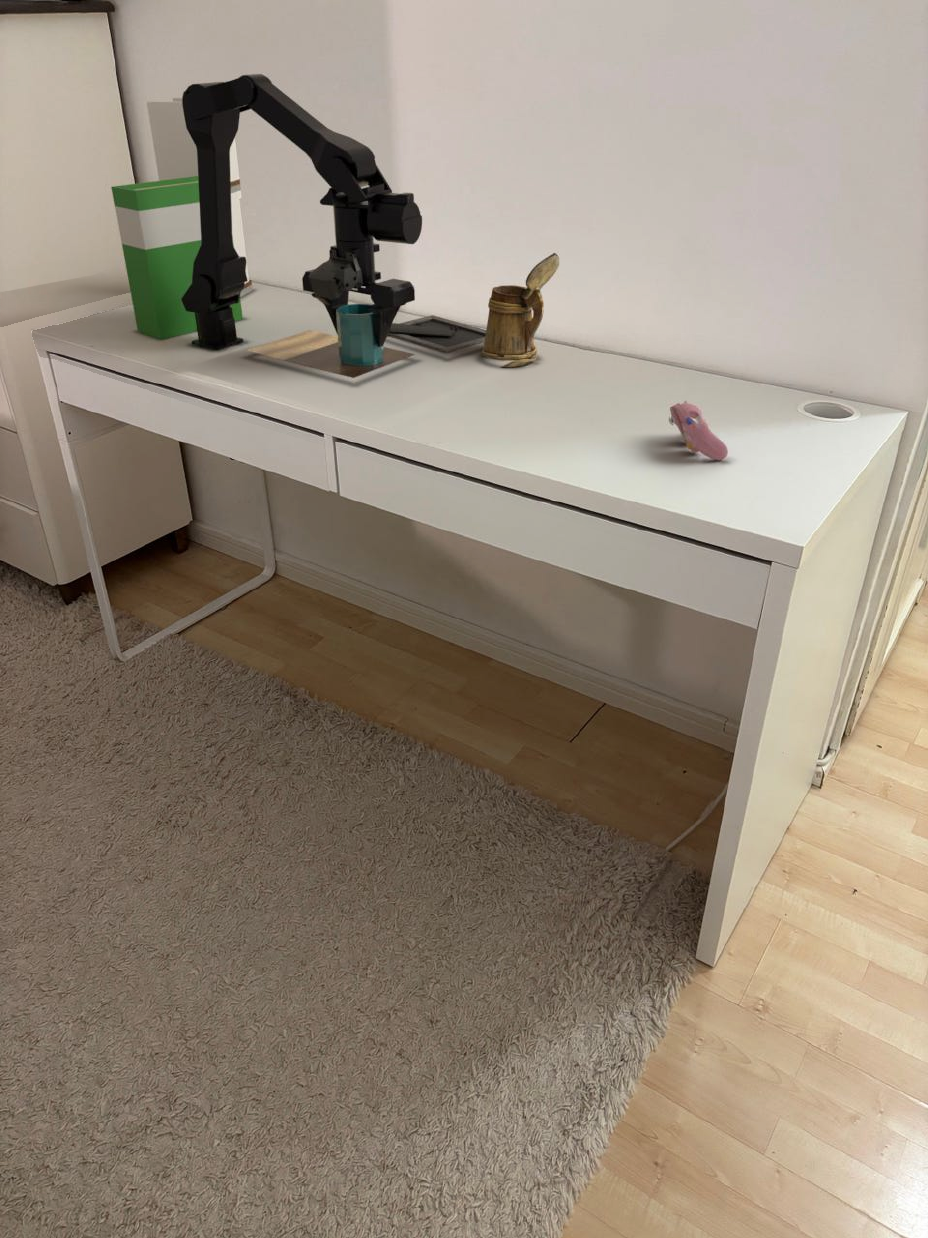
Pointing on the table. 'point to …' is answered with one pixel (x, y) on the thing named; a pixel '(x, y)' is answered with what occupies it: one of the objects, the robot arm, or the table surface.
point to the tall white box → (190, 161)
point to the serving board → (321, 353)
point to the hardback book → (161, 251)
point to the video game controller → (696, 431)
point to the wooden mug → (517, 316)
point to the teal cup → (357, 336)
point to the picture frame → (438, 333)
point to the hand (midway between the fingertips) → (360, 341)
